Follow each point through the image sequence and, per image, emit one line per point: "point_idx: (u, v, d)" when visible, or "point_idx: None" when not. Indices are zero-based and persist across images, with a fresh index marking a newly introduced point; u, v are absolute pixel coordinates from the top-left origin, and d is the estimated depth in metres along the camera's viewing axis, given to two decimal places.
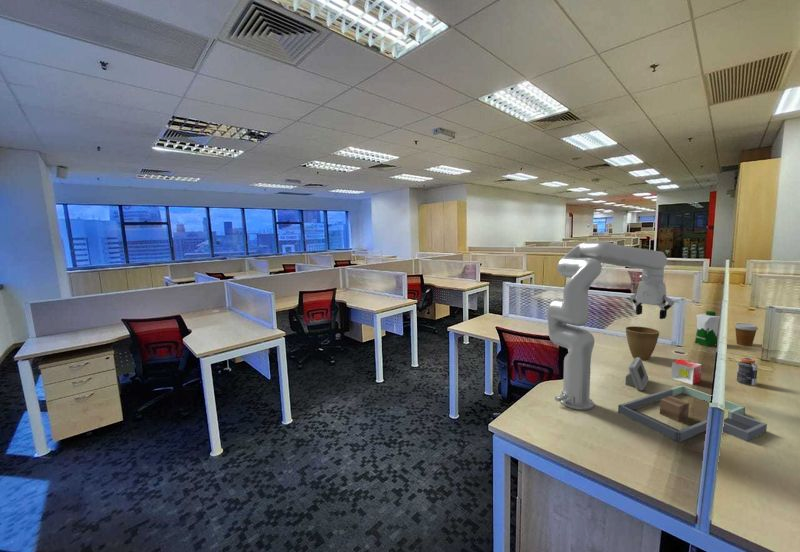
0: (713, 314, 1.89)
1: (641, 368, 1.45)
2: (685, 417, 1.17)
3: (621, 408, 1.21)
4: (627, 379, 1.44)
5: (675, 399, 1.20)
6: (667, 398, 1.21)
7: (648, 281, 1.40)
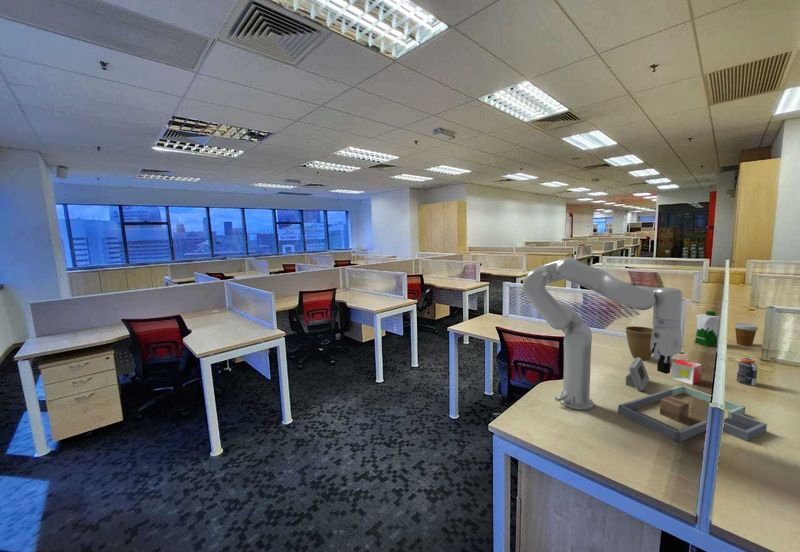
0: (713, 314, 1.89)
1: (642, 368, 1.45)
2: (685, 417, 1.17)
3: (621, 408, 1.21)
4: (627, 379, 1.44)
5: (675, 399, 1.20)
6: (667, 398, 1.21)
7: (679, 327, 1.09)
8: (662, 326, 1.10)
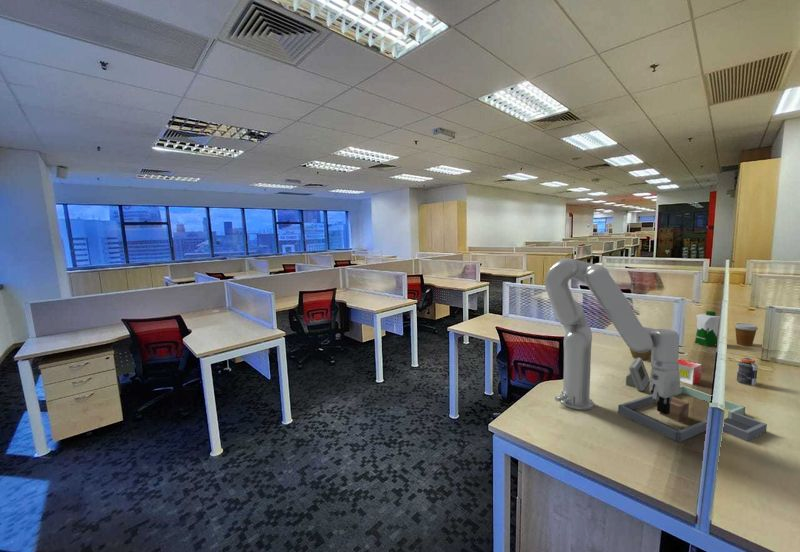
0: (713, 314, 1.89)
1: (642, 368, 1.45)
2: (685, 417, 1.17)
3: (621, 408, 1.21)
4: (627, 379, 1.44)
5: (675, 399, 1.20)
6: None
7: (677, 369, 1.11)
8: (660, 368, 1.12)
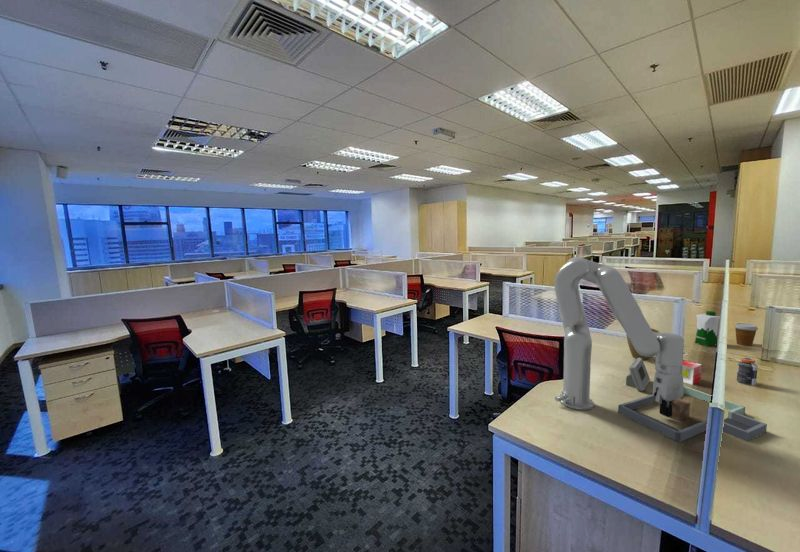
0: (713, 314, 1.89)
1: (642, 369, 1.45)
2: (686, 416, 1.17)
3: (621, 408, 1.21)
4: (628, 379, 1.44)
5: (676, 399, 1.20)
6: None
7: (681, 373, 1.12)
8: (664, 372, 1.13)
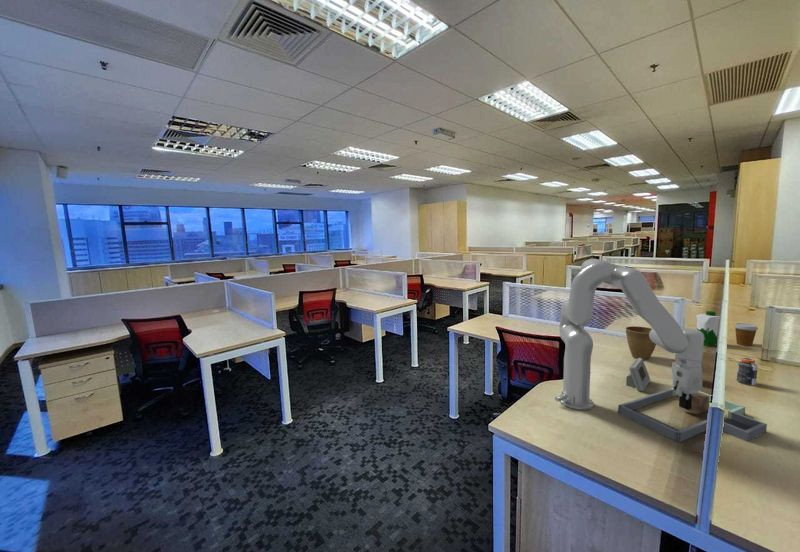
0: (713, 314, 1.89)
1: (642, 369, 1.44)
2: (705, 410, 1.21)
3: (621, 408, 1.21)
4: (628, 380, 1.44)
5: (695, 392, 1.24)
6: None
7: (701, 367, 1.16)
8: (684, 366, 1.17)
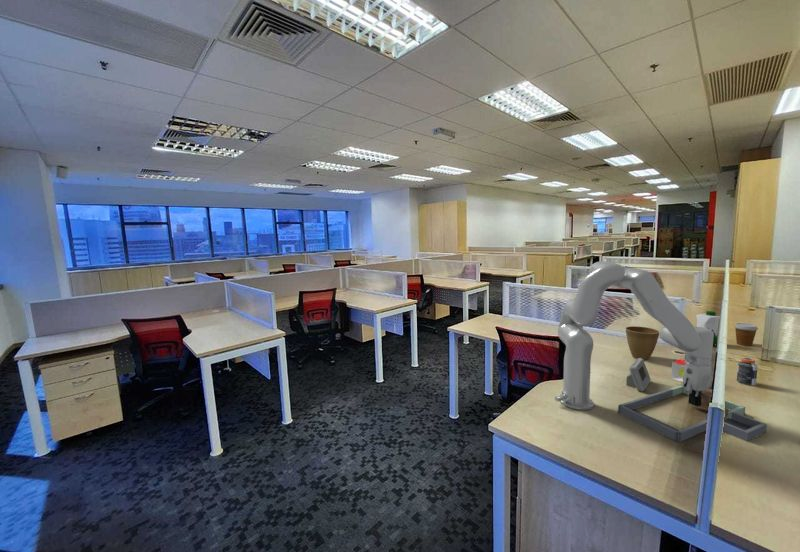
0: (713, 314, 1.89)
1: (643, 369, 1.44)
2: None
3: (621, 408, 1.21)
4: (628, 380, 1.43)
5: None
6: None
7: (710, 364, 1.18)
8: (694, 363, 1.19)
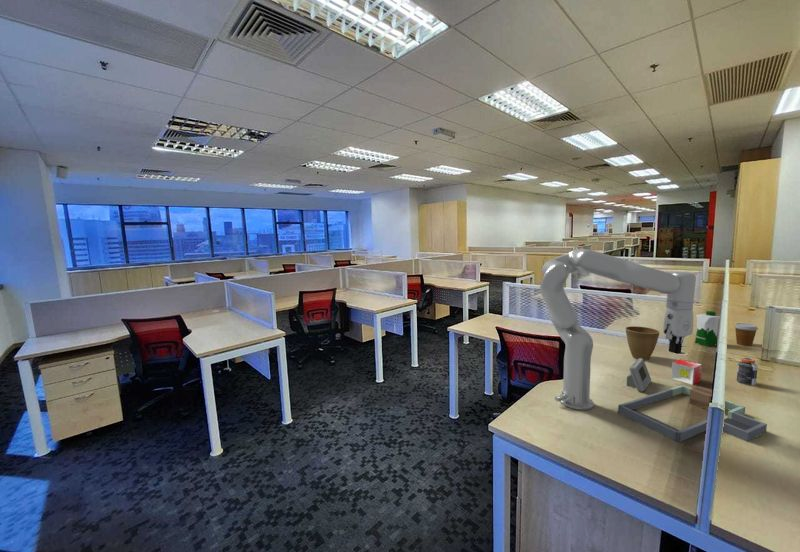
0: (713, 314, 1.89)
1: (643, 369, 1.44)
2: None
3: (621, 408, 1.21)
4: (628, 380, 1.43)
5: (704, 389, 1.26)
6: (696, 388, 1.27)
7: (692, 309, 1.15)
8: (675, 308, 1.16)
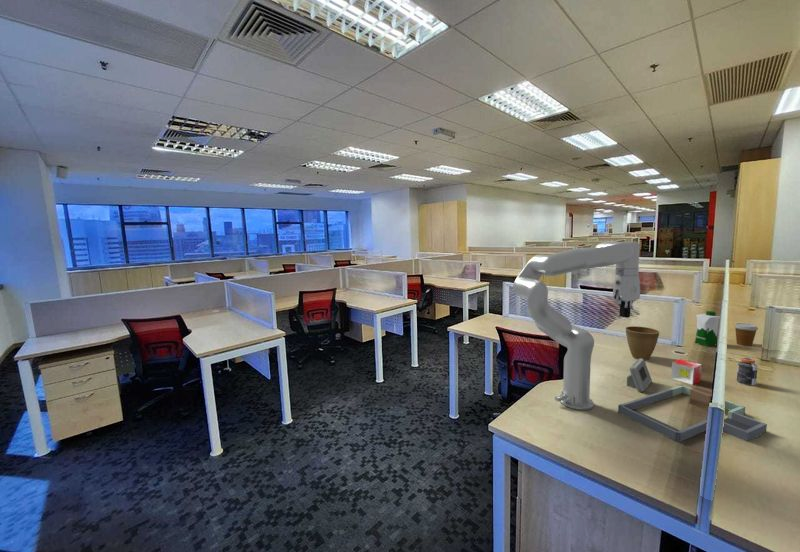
0: (713, 314, 1.89)
1: (643, 369, 1.44)
2: None
3: (621, 408, 1.21)
4: (628, 380, 1.43)
5: (704, 389, 1.26)
6: (696, 388, 1.27)
7: (637, 275, 1.24)
8: (622, 274, 1.25)
